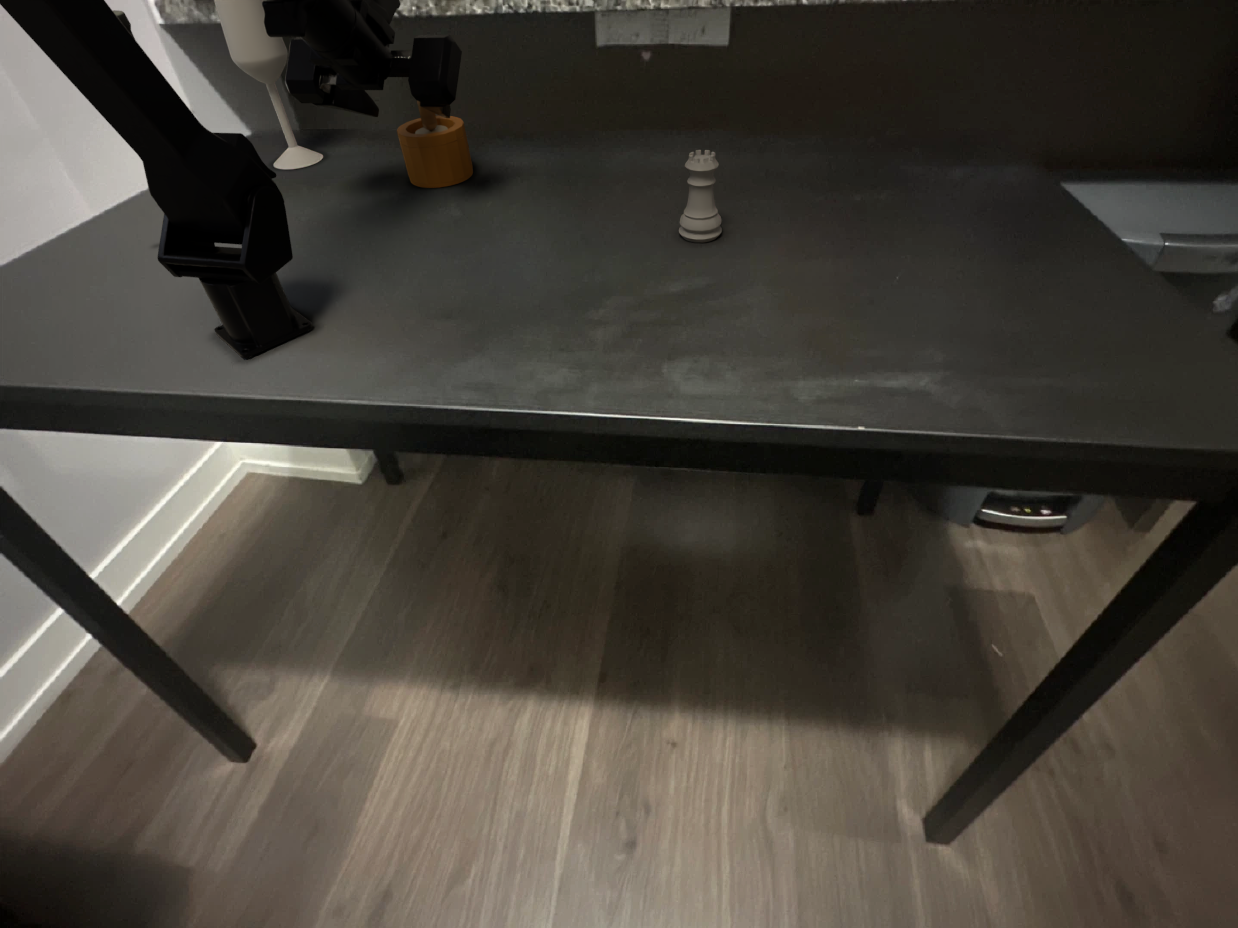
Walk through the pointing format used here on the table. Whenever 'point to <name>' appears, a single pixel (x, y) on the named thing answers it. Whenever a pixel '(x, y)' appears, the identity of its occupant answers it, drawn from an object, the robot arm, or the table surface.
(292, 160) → the champagne flute
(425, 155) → the orange cylindrical pot
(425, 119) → the brush
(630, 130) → the table surface
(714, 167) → the rook chess piece
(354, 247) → the table surface
